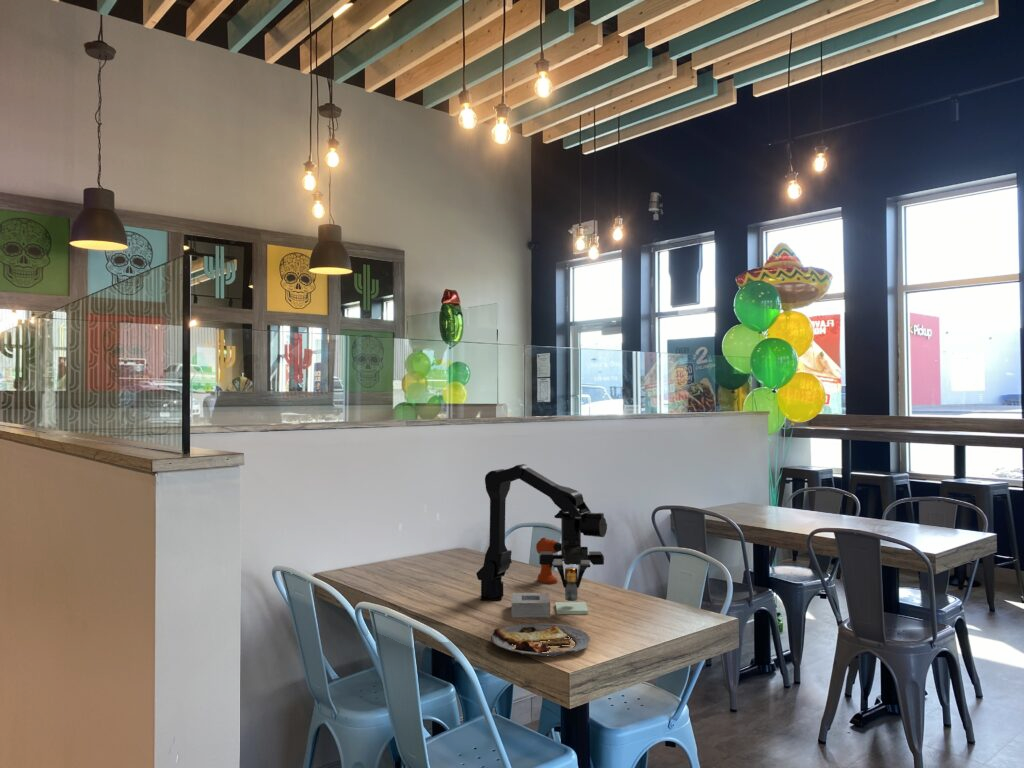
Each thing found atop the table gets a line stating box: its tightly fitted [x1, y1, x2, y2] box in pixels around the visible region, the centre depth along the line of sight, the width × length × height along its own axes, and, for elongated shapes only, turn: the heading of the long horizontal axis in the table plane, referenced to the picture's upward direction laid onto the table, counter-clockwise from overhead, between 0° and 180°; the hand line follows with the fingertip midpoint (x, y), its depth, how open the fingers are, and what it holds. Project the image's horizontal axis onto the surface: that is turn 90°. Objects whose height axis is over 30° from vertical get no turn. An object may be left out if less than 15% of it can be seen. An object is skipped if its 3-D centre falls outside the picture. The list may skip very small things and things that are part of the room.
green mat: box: [555, 601, 589, 615], centre depth 227 cm, size 9×9×1 cm
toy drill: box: [535, 537, 561, 585], centre depth 257 cm, size 5×19×15 cm, turn 36°
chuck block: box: [511, 592, 551, 618], centre depth 225 cm, size 11×11×4 cm
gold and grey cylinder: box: [564, 566, 578, 602], centre depth 227 cm, size 4×4×9 cm
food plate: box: [490, 622, 591, 657], centre depth 196 cm, size 25×23×4 cm
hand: (571, 587), depth 227 cm, fingers closed on gold and grey cylinder, 4 cm apart
